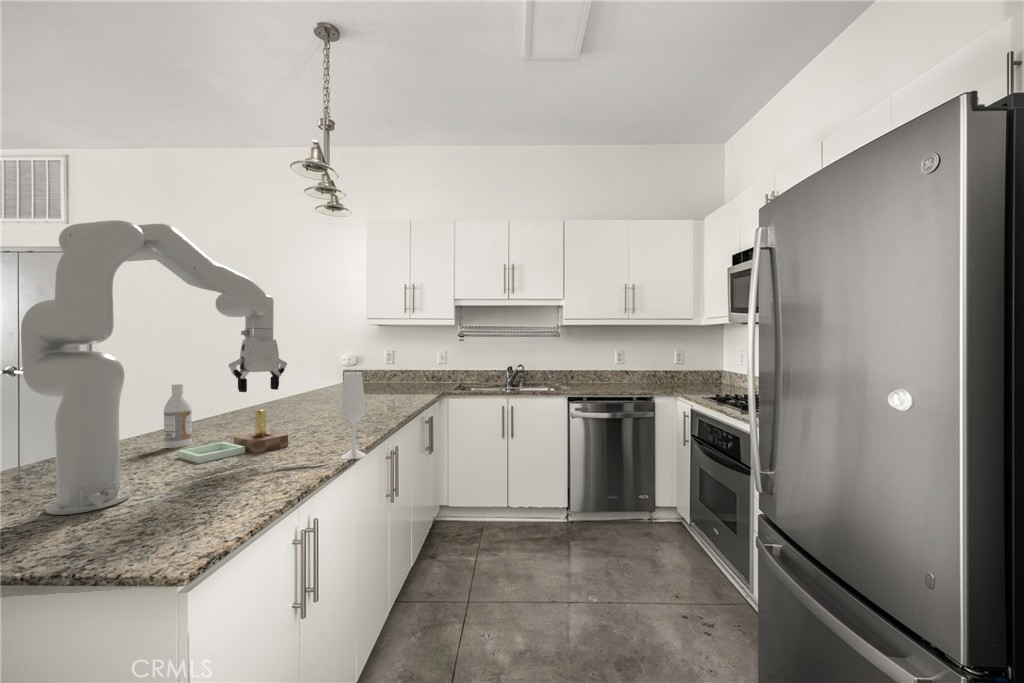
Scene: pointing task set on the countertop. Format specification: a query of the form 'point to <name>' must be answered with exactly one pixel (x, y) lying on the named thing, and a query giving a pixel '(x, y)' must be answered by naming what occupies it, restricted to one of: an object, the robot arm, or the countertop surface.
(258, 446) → the bore block
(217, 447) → the tray
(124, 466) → the countertop surface
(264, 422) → the gold cylinder
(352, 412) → the champagne flute
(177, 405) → the bath foam
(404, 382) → the countertop surface
